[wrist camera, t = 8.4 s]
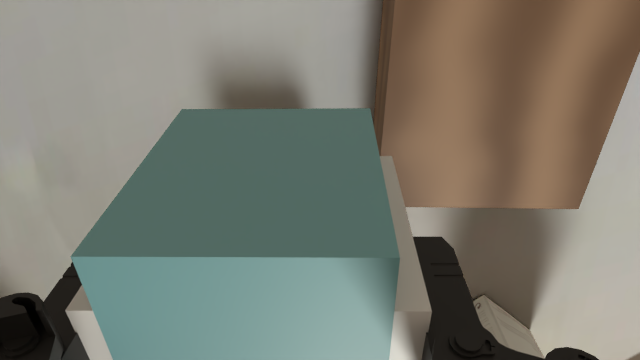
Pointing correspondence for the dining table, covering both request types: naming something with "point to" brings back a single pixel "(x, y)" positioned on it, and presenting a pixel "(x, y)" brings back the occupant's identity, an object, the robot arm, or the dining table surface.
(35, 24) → the dining table surface
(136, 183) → the teal block
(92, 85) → the dining table surface
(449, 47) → the walnut plinth
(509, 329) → the skincare box
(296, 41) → the dining table surface
